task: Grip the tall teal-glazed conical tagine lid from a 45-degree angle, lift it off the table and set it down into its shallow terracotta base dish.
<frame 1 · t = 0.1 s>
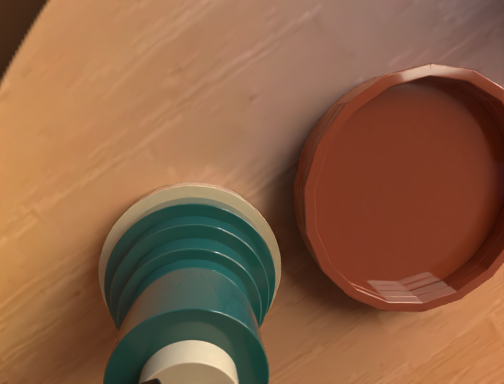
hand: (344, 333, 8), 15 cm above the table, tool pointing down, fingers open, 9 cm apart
tagine base: (402, 189, 24), on the table
tagine lid: (193, 266, 23), on the table
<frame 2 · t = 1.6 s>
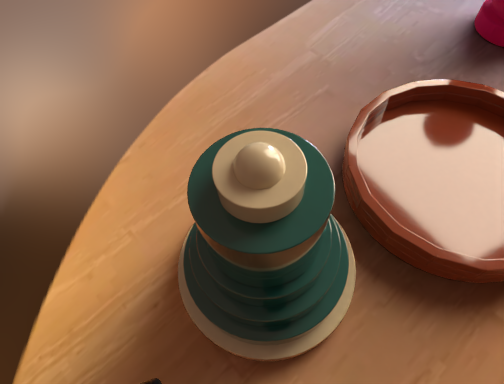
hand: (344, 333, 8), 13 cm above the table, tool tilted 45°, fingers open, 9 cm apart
tagine base: (448, 179, 26), on the table
tagine lid: (265, 268, 23), on the table
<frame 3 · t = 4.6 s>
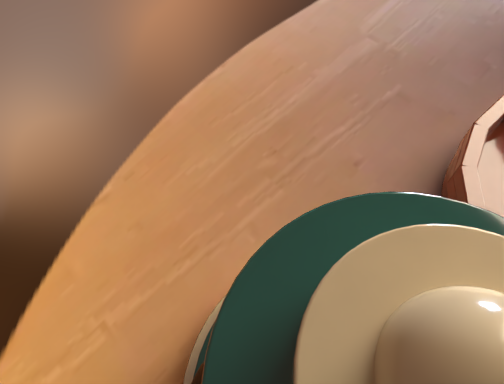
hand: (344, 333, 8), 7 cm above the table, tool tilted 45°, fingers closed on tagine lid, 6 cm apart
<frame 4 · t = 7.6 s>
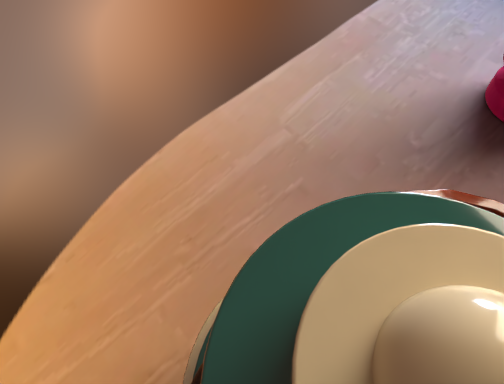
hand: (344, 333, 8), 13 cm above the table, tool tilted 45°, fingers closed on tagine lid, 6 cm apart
tagine base: (445, 328, 20), on the table
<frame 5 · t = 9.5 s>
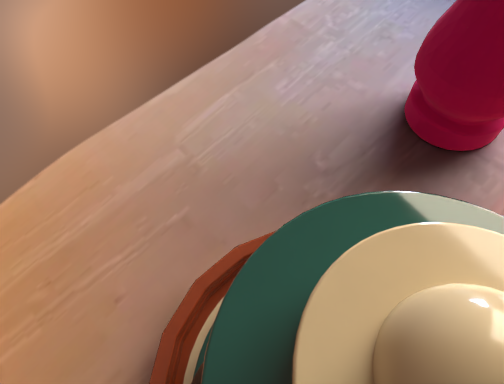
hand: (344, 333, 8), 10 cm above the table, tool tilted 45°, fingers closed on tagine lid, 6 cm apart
pepper mill: (449, 118, 25), on the table
when the fingers open (8 cm above the table, at t = 10.9 s): tagine lid stays where it is, resting on tagine base.
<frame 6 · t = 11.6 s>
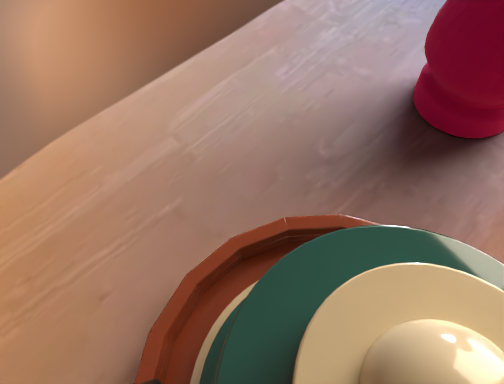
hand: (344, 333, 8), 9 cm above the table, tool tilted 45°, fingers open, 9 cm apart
pepper mill: (460, 105, 23), on the table
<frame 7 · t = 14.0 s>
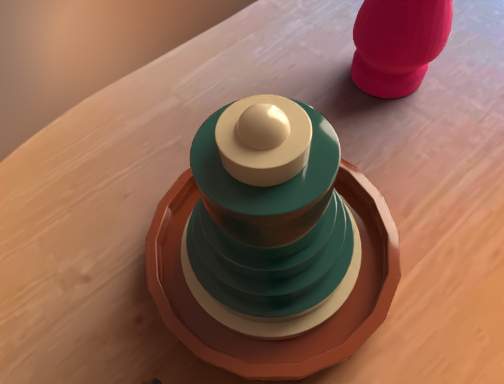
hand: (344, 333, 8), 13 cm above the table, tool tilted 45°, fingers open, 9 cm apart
tagine base: (270, 252, 24), on the table
tagine lid: (269, 248, 23), point 1 cm above the table, touching tagine base
pepper mill: (384, 76, 32), on the table
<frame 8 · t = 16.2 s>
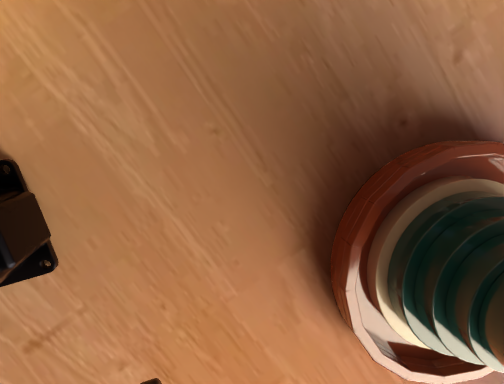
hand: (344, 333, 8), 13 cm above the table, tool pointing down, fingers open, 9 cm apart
tagine base: (439, 256, 24), on the table
tagine lid: (448, 261, 23), point 1 cm above the table, touching tagine base
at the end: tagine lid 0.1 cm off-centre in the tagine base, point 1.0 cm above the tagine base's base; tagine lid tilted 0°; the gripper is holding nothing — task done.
